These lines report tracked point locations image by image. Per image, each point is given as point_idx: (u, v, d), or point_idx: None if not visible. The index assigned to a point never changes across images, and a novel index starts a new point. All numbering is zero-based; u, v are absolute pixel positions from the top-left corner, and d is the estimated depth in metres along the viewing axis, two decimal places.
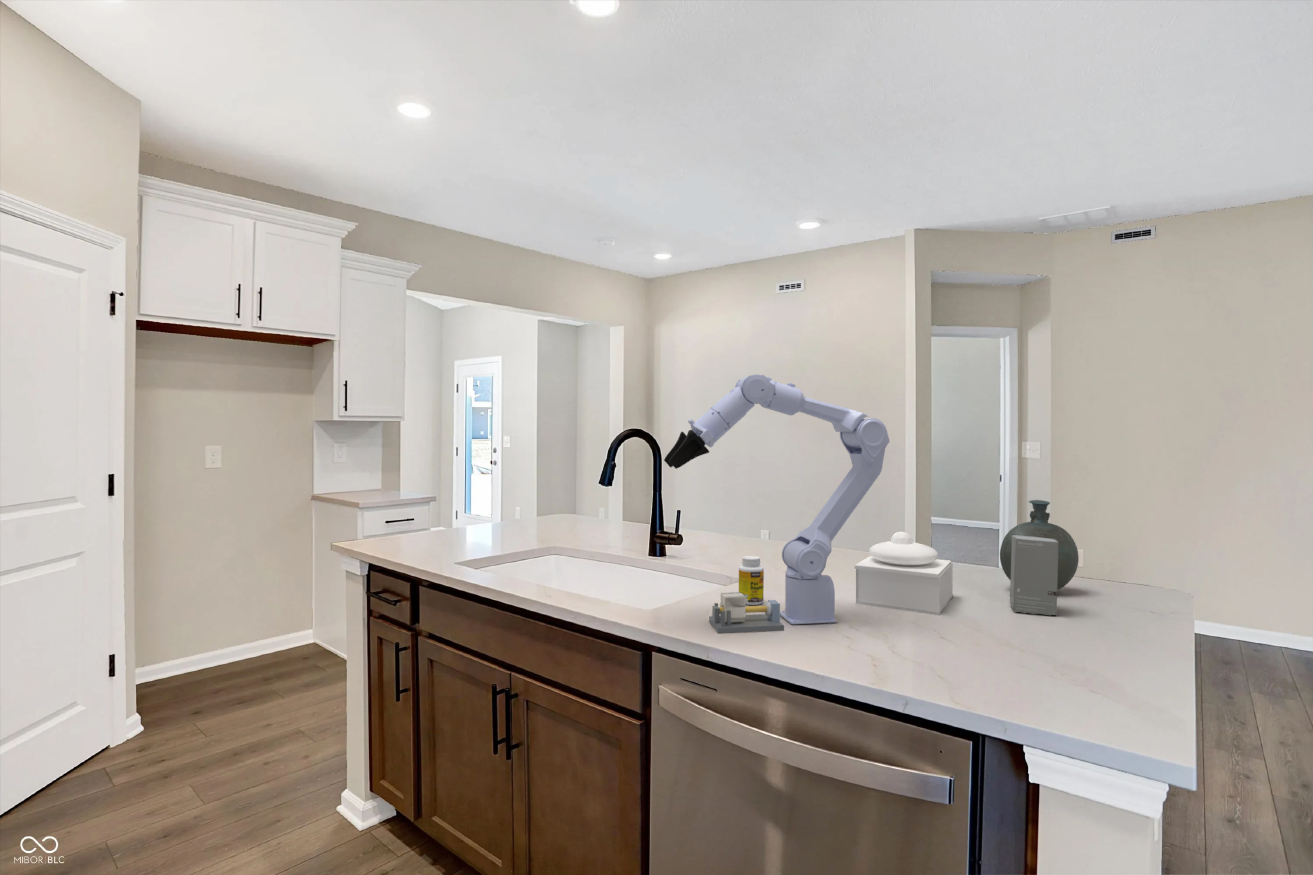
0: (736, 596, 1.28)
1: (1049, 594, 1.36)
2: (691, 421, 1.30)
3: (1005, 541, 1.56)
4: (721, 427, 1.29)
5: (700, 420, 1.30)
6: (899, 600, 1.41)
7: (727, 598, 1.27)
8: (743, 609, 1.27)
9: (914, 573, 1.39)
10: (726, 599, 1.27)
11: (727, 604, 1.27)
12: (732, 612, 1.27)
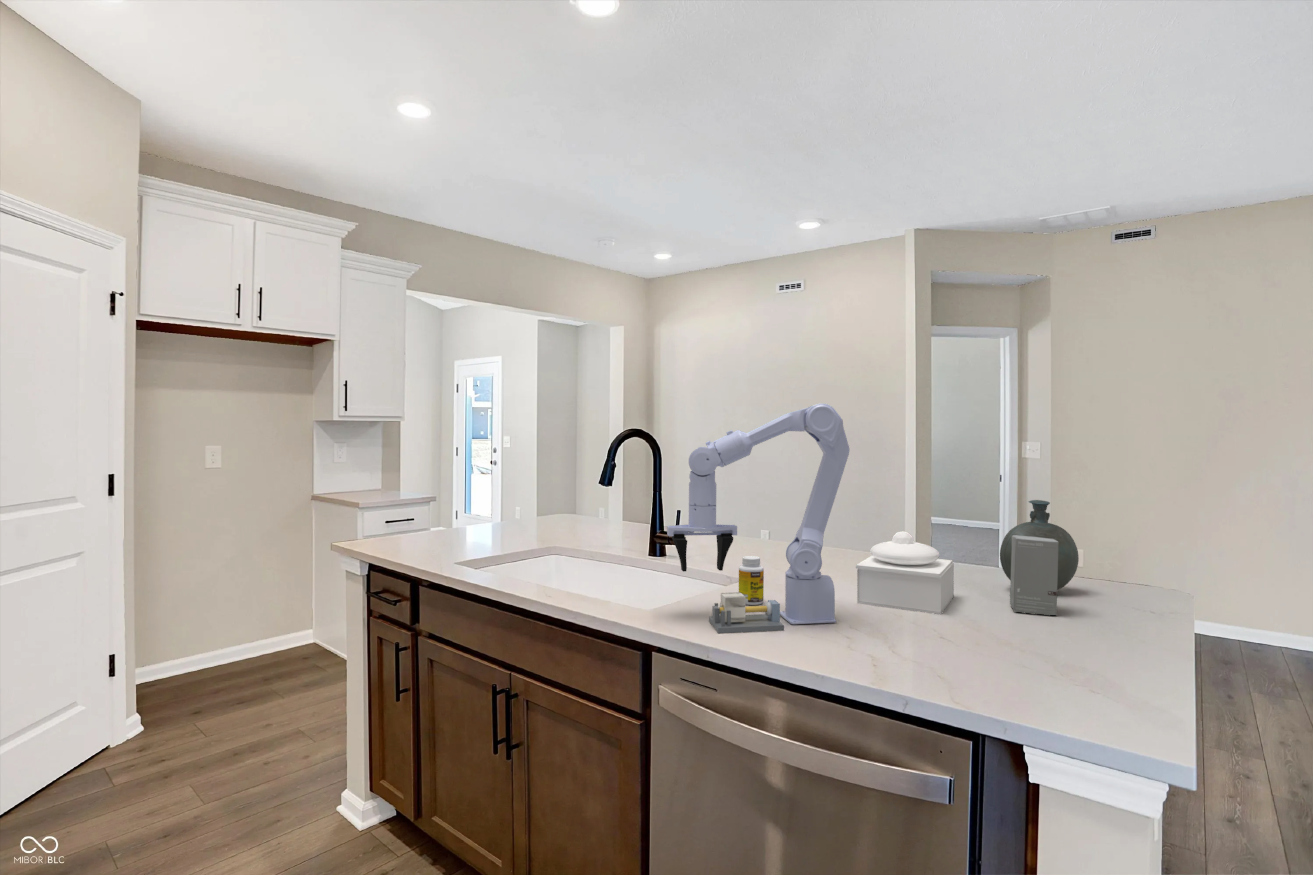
0: (736, 596, 1.28)
1: (1049, 594, 1.36)
2: None
3: (1005, 541, 1.56)
4: (691, 511, 1.34)
5: None
6: (900, 600, 1.42)
7: (727, 598, 1.27)
8: (743, 609, 1.27)
9: (915, 573, 1.39)
10: (726, 599, 1.27)
11: (727, 604, 1.27)
12: (732, 612, 1.27)
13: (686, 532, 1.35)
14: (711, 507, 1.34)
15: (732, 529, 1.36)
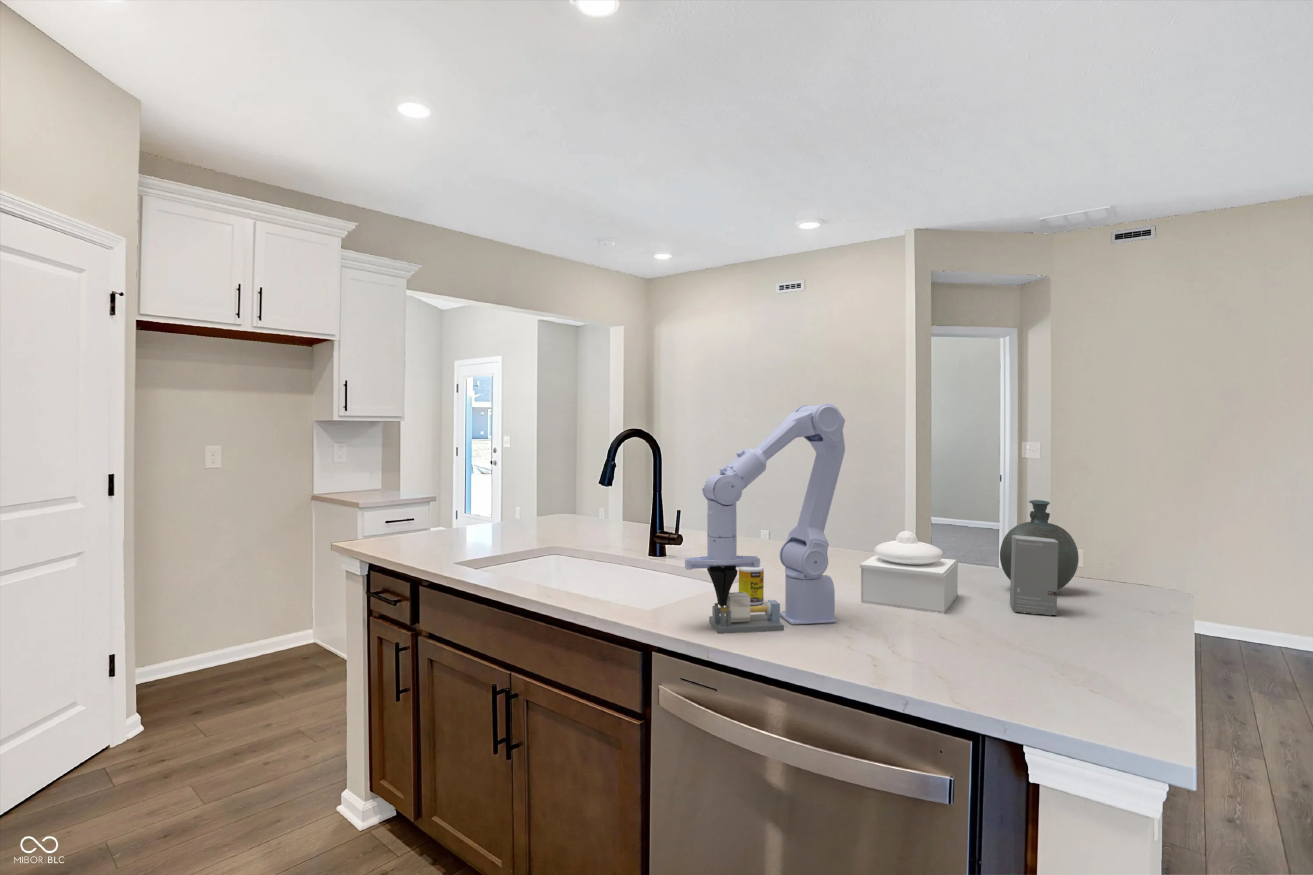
0: (741, 596, 1.28)
1: (1049, 594, 1.36)
2: None
3: (1005, 541, 1.56)
4: (710, 543, 1.27)
5: None
6: (904, 599, 1.42)
7: (732, 598, 1.27)
8: (748, 609, 1.27)
9: (919, 572, 1.40)
10: (731, 599, 1.27)
11: (732, 604, 1.27)
12: (737, 612, 1.27)
13: (705, 565, 1.28)
14: (731, 538, 1.26)
15: (754, 561, 1.28)
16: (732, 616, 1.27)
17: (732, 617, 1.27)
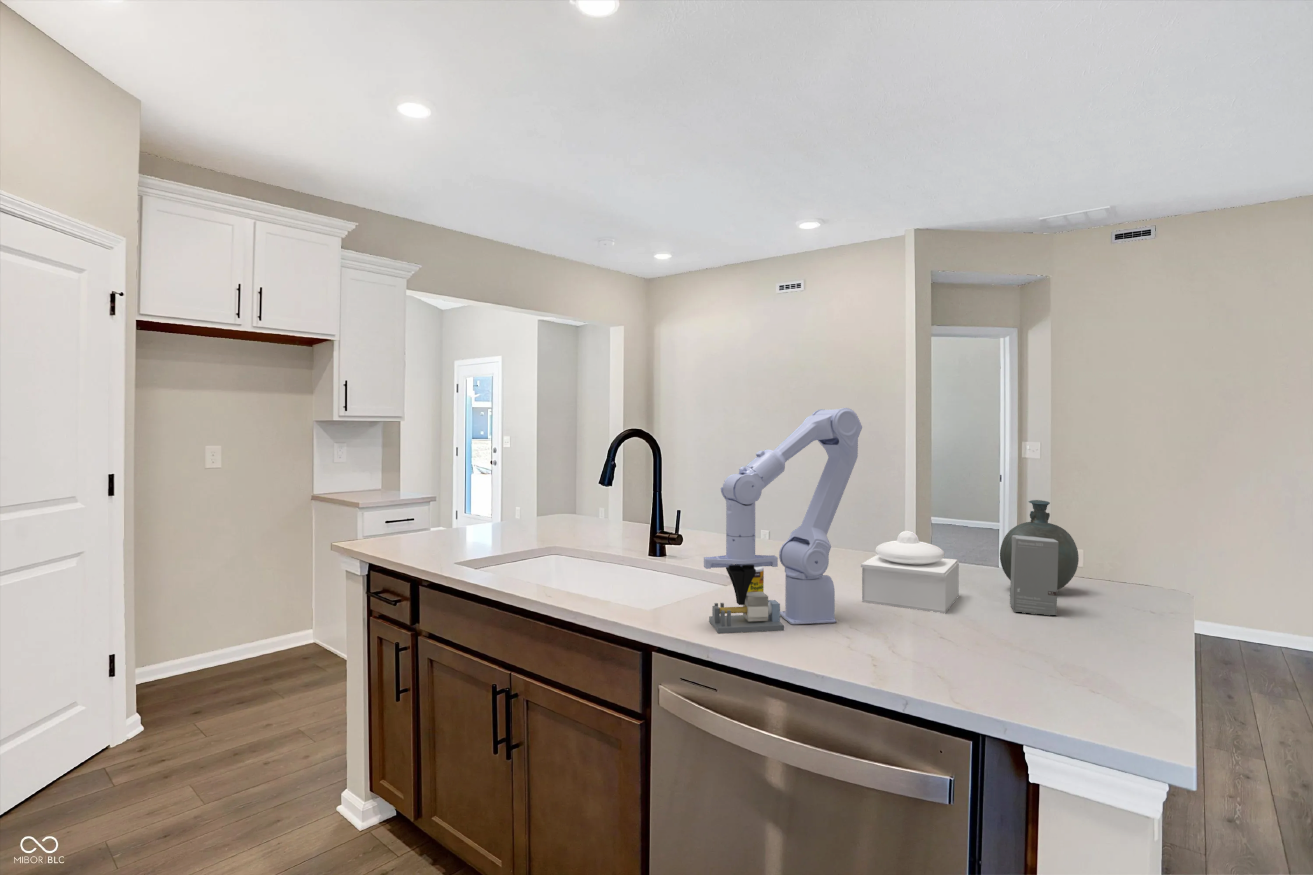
0: (759, 595, 1.28)
1: (1049, 594, 1.36)
2: None
3: (1005, 541, 1.56)
4: (729, 542, 1.28)
5: None
6: (905, 599, 1.42)
7: (750, 597, 1.27)
8: (766, 608, 1.28)
9: (920, 572, 1.40)
10: (749, 598, 1.27)
11: (750, 604, 1.27)
12: (755, 611, 1.28)
13: (724, 564, 1.28)
14: (750, 538, 1.27)
15: (773, 560, 1.29)
16: (750, 615, 1.27)
17: (750, 616, 1.27)
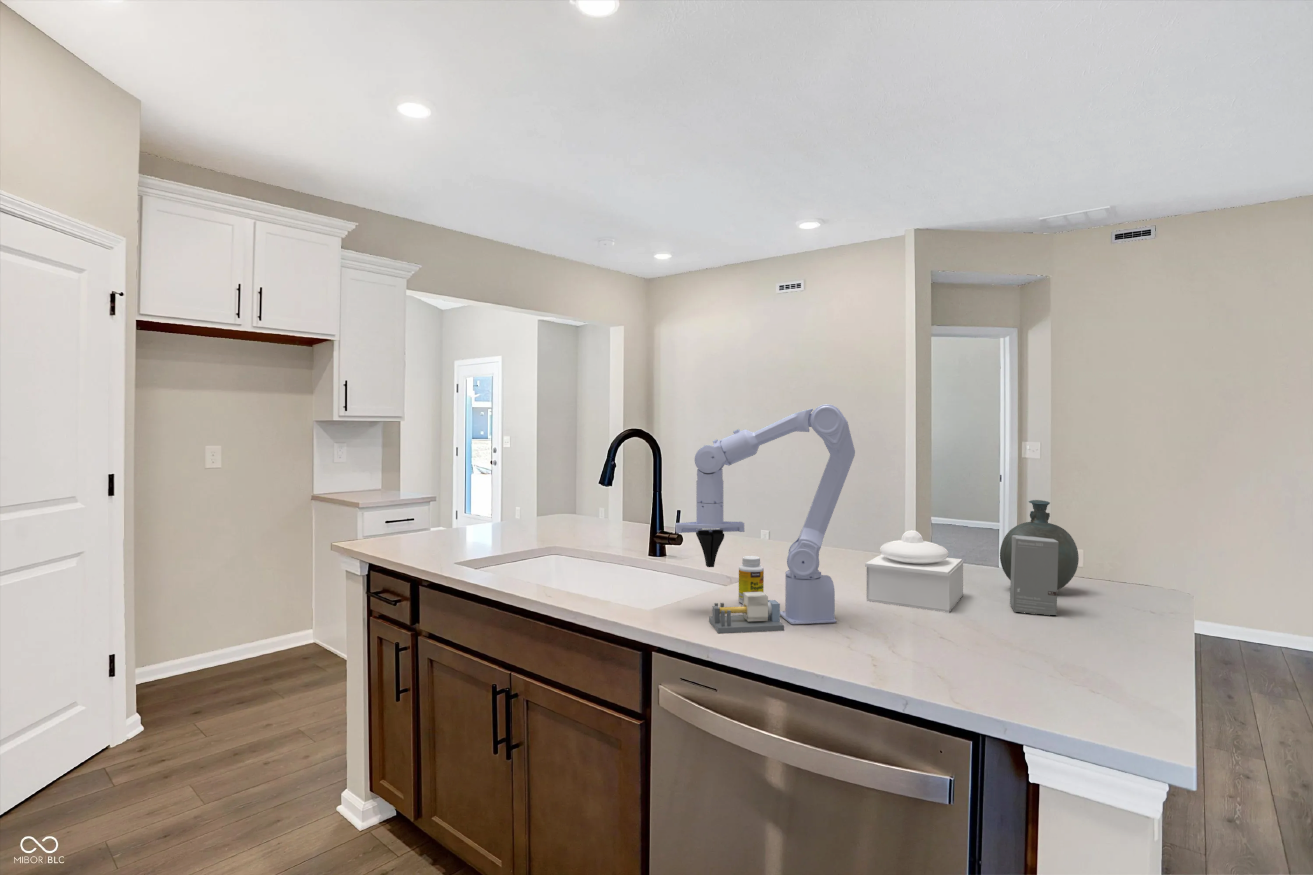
0: (759, 595, 1.28)
1: (1049, 594, 1.36)
2: None
3: (1005, 541, 1.56)
4: (699, 509, 1.37)
5: None
6: (909, 598, 1.43)
7: (750, 597, 1.27)
8: (766, 608, 1.28)
9: (924, 571, 1.41)
10: (749, 598, 1.27)
11: (749, 604, 1.27)
12: (755, 611, 1.28)
13: (694, 529, 1.38)
14: (718, 504, 1.36)
15: (740, 525, 1.38)
16: (750, 615, 1.27)
17: (750, 616, 1.27)
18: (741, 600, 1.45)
